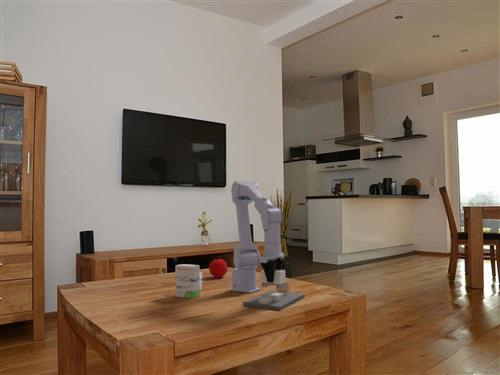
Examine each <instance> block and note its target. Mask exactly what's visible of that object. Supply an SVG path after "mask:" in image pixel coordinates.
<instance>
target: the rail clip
mask: <svg viewBox="0 0 500 375" xmlns="http://www.w3.org/2000/svg"><path fill="white" fill-rule="evenodd" d="M275 291H283V292H288V291H289V292H290V284H289V282H286V286H285V287H283V288H276V287H275Z"/></svg>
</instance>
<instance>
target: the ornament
mask: <svg viewBox="0 0 500 375" xmlns="http://www.w3.org/2000/svg"><path fill="white" fill-rule="evenodd" d="M228 269H229V268H228V264H227V262H226V261H225V260H224V259H222V258H221V257H220V256H216V258H215V259H213V260H212V261H211V262H210V264H209V266H208V270H209V273H210V275H211V276H213V277H214V278H222V277H224V276H225V275H227V272H228Z"/></svg>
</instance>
